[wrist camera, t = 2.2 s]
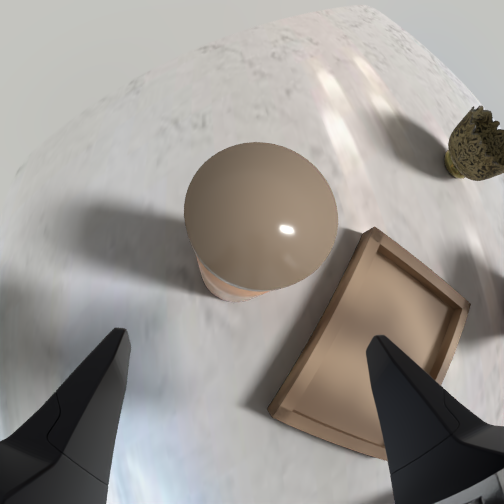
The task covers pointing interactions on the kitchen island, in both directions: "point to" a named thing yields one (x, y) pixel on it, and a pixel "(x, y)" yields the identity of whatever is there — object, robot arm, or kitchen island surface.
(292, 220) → the spice jar
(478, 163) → the cup
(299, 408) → the tray
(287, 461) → the kitchen island surface
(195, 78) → the kitchen island surface
